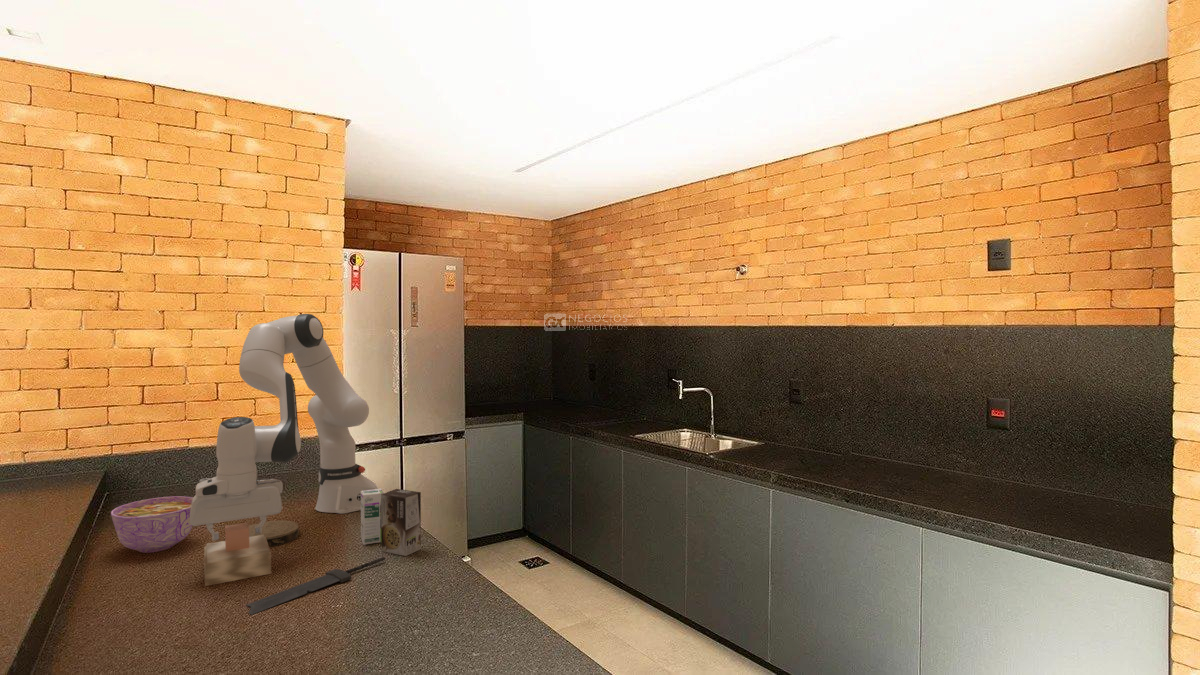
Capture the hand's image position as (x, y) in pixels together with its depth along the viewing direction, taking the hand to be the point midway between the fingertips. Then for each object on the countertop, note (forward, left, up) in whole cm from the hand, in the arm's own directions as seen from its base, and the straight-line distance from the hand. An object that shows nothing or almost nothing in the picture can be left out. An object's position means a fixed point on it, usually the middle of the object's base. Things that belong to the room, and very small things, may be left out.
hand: (237, 536), depth 157 cm
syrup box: (-34, -4, -9) cm, 35 cm away
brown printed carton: (-39, +8, -9) cm, 41 cm away
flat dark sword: (-16, +21, -9) cm, 28 cm away
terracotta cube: (0, 0, -3) cm, 3 cm away
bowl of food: (+18, -30, -9) cm, 36 cm away
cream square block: (0, 0, -9) cm, 9 cm away
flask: (+6, -65, -9) cm, 66 cm away
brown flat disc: (-9, -22, -9) cm, 25 cm away
